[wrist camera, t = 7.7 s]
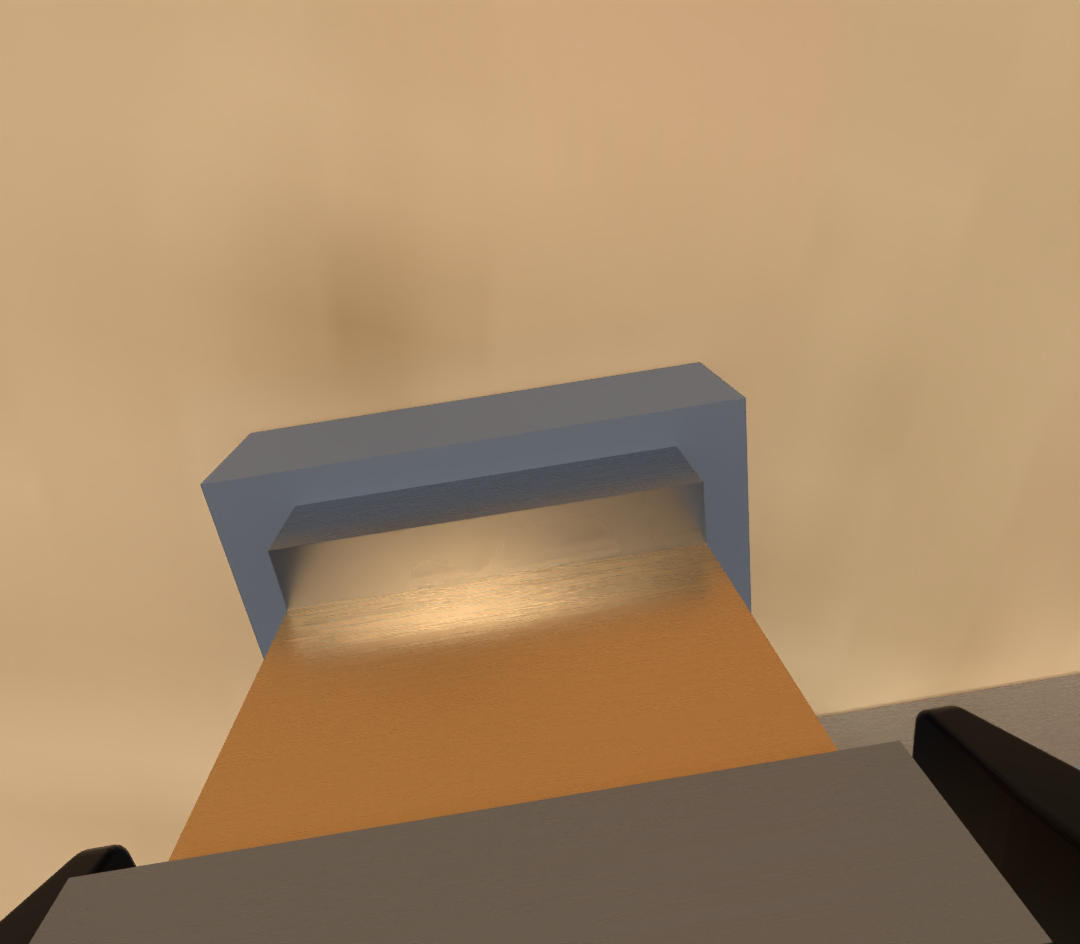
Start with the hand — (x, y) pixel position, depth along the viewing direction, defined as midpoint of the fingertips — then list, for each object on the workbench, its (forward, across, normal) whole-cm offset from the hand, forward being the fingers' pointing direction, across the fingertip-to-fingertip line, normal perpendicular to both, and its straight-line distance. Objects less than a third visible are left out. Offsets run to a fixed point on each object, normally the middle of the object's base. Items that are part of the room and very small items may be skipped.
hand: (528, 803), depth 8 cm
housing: (+2, 0, 0) cm, 2 cm away
